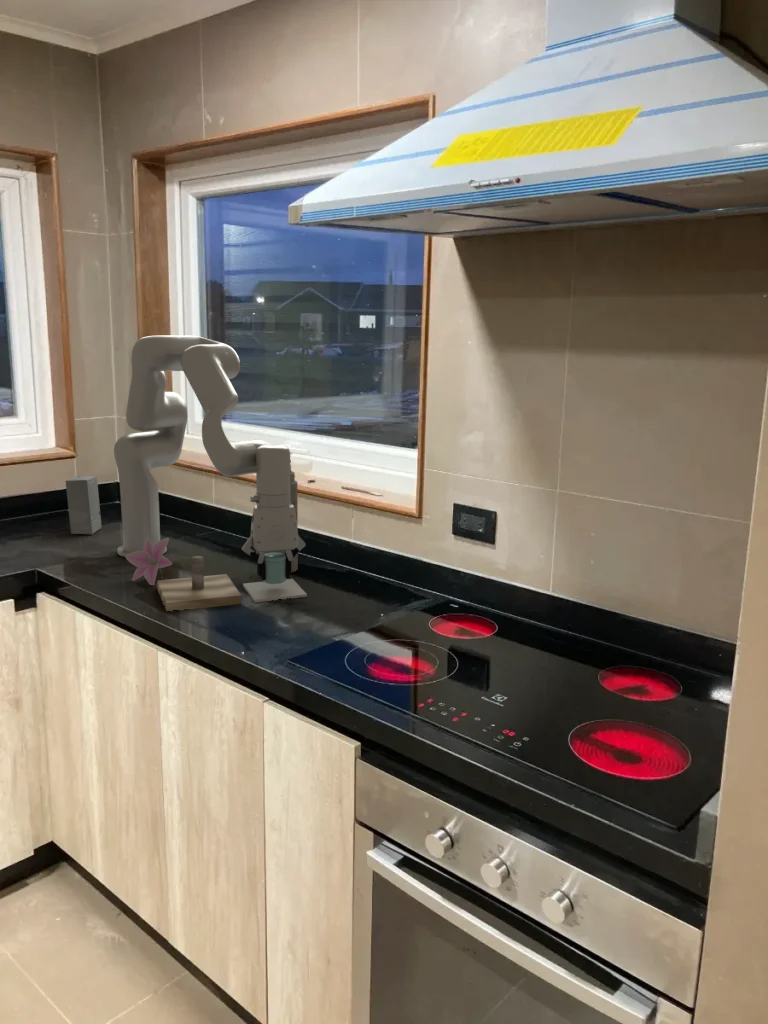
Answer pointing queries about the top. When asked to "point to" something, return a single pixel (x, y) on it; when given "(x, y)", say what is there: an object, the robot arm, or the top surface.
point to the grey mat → (274, 590)
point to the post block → (198, 590)
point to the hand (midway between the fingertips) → (274, 576)
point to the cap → (275, 568)
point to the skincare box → (83, 504)
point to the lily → (149, 560)
